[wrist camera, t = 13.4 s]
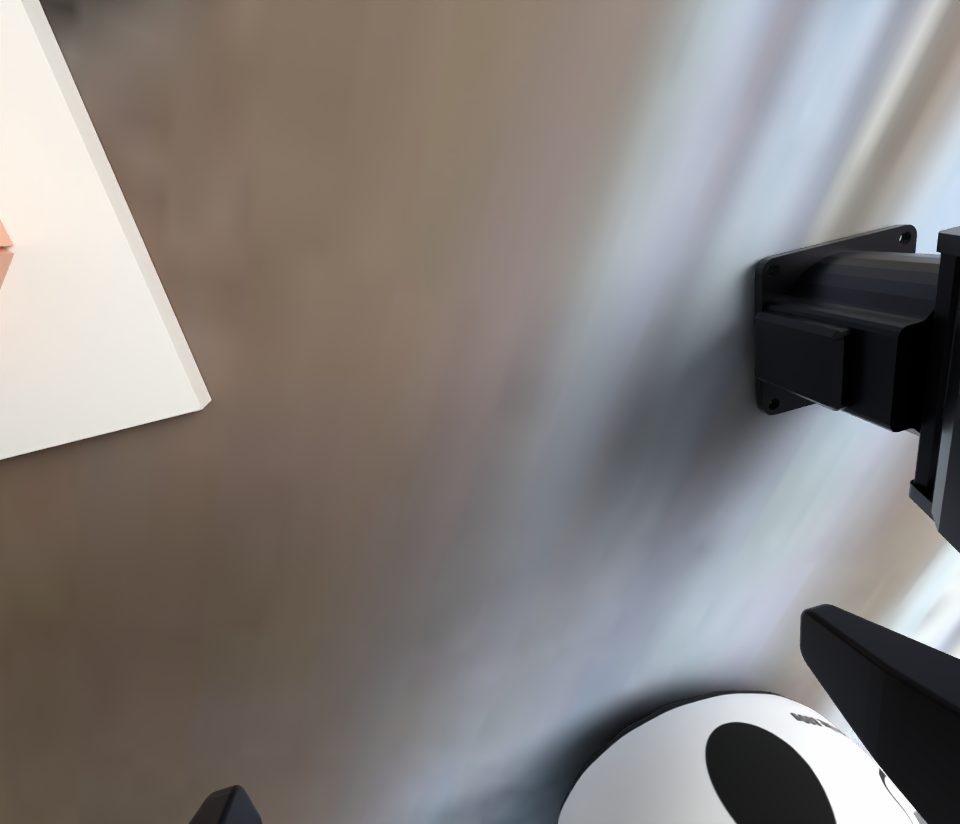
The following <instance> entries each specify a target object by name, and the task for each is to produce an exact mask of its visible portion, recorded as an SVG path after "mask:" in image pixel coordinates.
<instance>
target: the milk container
mask: <svg viewBox="0 0 960 824" xmlns="http://www.w3.org/2000/svg"><path fill="white" fill-rule="evenodd" d="M558 824H919V822H918V821H917V819H916V818H915V816H914V814H913V813H912V811H911V810H910V808H909V806H908V805H907V803H906V802H905V800H904V799H903V797H902V796H901V794H900V793H899V792H898V790H897V789H896V788H895V786H894V785H893V784H892V783H891V781H890V780H889V779H888V777H887V776H886V775H885V774H884V773H883V772H882V771H881V770H880V768H879V767H878V766H877V765H876V764H875V763H874V762H873V761H872V760H871V759H870V758H869V757H868V755H867V754H865V753H864V752H863V751H862V750H861V749H860V748H859V747H858V746H857V745H856V744H855V743H854V742H853V741H851V740H850V739H849V738H848V737H847V736H846V735H844V734H843V733H842V732H841V731H840V730H838V729H837V728H836V727H835V726H834V725H833V724H831V723H830V722H829V721H827V720H826V719H825V718H824V717H822V716H821V715H820V714H819V713H817V712H815V711H814V710H812V709H810V708H808V707H806V706H804V705H802V704H800V703H798V702H795V701H793V700H790V699H788V698H785V697H783V696H781V695H778V694H774V693H771V692H763V691H720V692H711V693H708V694H704V695H701V696H698V697H695V698H692V699H687V700H682V701H678V702H674V703H670V704H667V705H665V706H663V707H662V708H660V709H658V710H656V711H655V712H653V713H651V714H650V715H648V716H647V717H645V718H643V719H641V720H639V721H637V722H634V723H633V724H631V725H629V726H627V727H625V728H623V729H622V730H621V731H620V732H619V733H618V734H617V735H616V736H615V737H614V738H613V739H612V740H611V741H610V742H609V743H608V744H607V745H606V746H605V747H604V748H603V749H601V750H600V751H599V752H598V753H597V754H596V755H594V756H593V757H592V758H591V759H590V760H589V761H588V762H587V764H586V765H585V766H584V768H583V769H582V771H581V772H580V773H579V775H578V776H577V778H576V779H575V781H574V783H573V785H572V786H571V788H570V790H569V792H568V793H567V795H566V797H565V799H564V801H563V804H562V806H561V809H560V814H559V819H558Z"/></svg>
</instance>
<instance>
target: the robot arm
mask: <svg viewBox="0 0 960 824" xmlns="http://www.w3.org/2000/svg"><path fill="white" fill-rule="evenodd" d="M901 235H902V238H901V240H900V242H899V239H900V236H901ZM916 239H917V231H916V229H915V227H914V226H912V225H894V226H890V227H886V228H882V229H878V230H874V231H870V232H866V233H862V234H858V235H854V236H850V237H846V238H842V239H838V240H834V241H830V242H826V243H821V244H817V245H813V246H809V247H805V248H801V249H797V250H793V251H789V252H785V253H781V254H777V255H773V256H769V257H766V258H764V259H762V260H761V261H760V262H759V263H758V265H757V267H756V270H755V311H756V317H755V320H754V323H755V375H756V391H757V408H758V409H759V410H760V411H762V412H764V413H766V414H768V415H775V414H779V413H782V412H786V411H790V410H793V409H797V408H801V407H804V406H808V405H812V404H815V403H817V404H819V405H822V406H824V407H826V408H829V409H831V410H834V411H838V410H841V411H843V412H846V413H848V414H851V415H853V416H856V417H858V418H860V419H863V420H865V421H868V422H870V423H873V424H875V425H877V426H880V427H882V428H885V429H887V430H890V431H892V432H900V431H903V430H905V431H908V432H910V433H913V434H915V435H918V436H919V444H918V453H917V461H916V470H915V479H914V480H912V481H911V482H910V489H909V497H910V498H911V499H912V500H913V501H914V502H915V503H916V504H917V505H918V506H919V507H920V508H921V509H922V510H923V511H924V512H925V513H926V514H927V515H928V516H929V517H930V518H931V519H932V520H933V521H934V522H935V524H936V527H937V529H938V532H939V533H940V534H941V535H942V536H943V537H944V538H945V539H946V540H947V541H948V542H949V543H950V544H951V545H952V546H953V547H954V548H955V549H956V550H957V551H958V552H959V553H960V226H959V227H955V228H951V229H947V230H943V231H939V234H938V243H937V252H940V253H941V255H935V254H916V253H915V249H916ZM770 266H773V272H772V273H771V275H770V276H769V275H768V270H769V268H770ZM772 399H773V402H772V404H771V405H769V402H770V401H771V400H772ZM768 405H769V406H768ZM800 649H801V653H802V656H803V658H804V660H805V662H806V664H807V665H808V667H809V668H810V669H811V671H812V672H813V674H814V675H815V676H816V678H817V679H818V681H819V682H820V684H821V685H822V686H823V688H824V689H825V691H826V692H827V694H828V695H829V696H830V698H831V699H832V701H833V702H834V703H835V705H836V706H837V708H838V709H839V711H840V712H841V713H842V715H843V716H844V718H845V719H846V721H847V722H848V723H849V725H850V726H851V728H852V729H853V730H854V732H855V733H856V735H857V736H858V738H859V739H860V740H861V742H862V743H863V745H864V746H865V747H866V749H867V750H868V751H869V753H870V754H871V755H872V757H873V758H874V759H875V761H876V762H877V763H878V764H879V766H880V767H881V768H882V769H883V771H884V772H885V773H886V774H887V776H888V777H889V778H890V779H891V780H892V782H893V783H894V784H895V785H896V786H897V788H898V789H899V790H900V791H901V792H902V794H903V795H904V796H905V797H906V798H907V800H908V801H909V802H910V803H911V804H912V806H913V807H914V808H915V809H916V810H917V812H918V813H919V814H920V815H921V816H922V818H923V819H924V820H925V821H926V822H927V824H960V659H958V658H955V657H953V656H951V655H948V654H946V653H944V652H941V651H939V650H937V649H934V648H932V647H930V646H927V645H925V644H923V643H920V642H918V641H916V640H913V639H911V638H908V637H906V636H904V635H901V634H899V633H897V632H894V631H892V630H890V629H887V628H885V627H883V626H880V625H878V624H876V623H873V622H871V621H869V620H866V619H864V618H861V617H859V616H857V615H854V614H852V613H850V612H847V611H845V610H843V609H840V608H838V607H836V606H833V605H829V604H822V605H818V606H815V607H812V608H809V609H806V610H804V611H803V612H802V614H801V624H800ZM189 824H262V820H261V817H260V815H259V813H258V812H257V810H256V808H255V807H254V805H253V803H252V801H251V800H250V798H249V796H248V795H247V793H246V791H245V789H244V788H243V787H241V786H239V785H234V786H231V787H228V788H225V789H221V790H218V791H216V792H213V793H212V794H211V795H210V796H209V797H208V798H207V799H206V800H205V801H204V803H203V804H202V805H201V807H200V808H199V810H198V811H197V813H196V814H195V815H194V817H193V818H192V820H191V821H190V823H189Z"/></svg>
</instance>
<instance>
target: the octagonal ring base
mask: <svg viewBox="0 0 960 824" xmlns="http://www.w3.org/2000/svg"><path fill="white" fill-rule="evenodd" d="M210 401H211V398H210V395H209V393H208V391H207V388H206V386H205V384H204V381H203V379H202V377H201V374H200V372H199V370H198V367H197V365H196V363H195V361H194V358H193V356H192V354H191V351H190V349H189V347H188V344H187V342H186V340H185V337H184V335H183V333H182V330H181V328H180V326H179V324H178V321H177V319H176V317H175V314H174V312H173V310H172V307H171V305H170V303H169V300H168V298H167V296H166V293H165V291H164V289H163V287H162V284H161V282H160V280H159V277H158V275H157V273H156V270H155V268H154V266H153V263H152V261H151V259H150V256H149V254H148V252H147V250H146V247H145V245H144V243H143V240H142V238H141V236H140V233H139V231H138V229H137V226H136V224H135V222H134V219H133V217H132V215H131V212H130V210H129V208H128V206H127V203H126V201H125V199H124V196H123V194H122V192H121V189H120V187H119V185H118V182H117V180H116V178H115V175H114V173H113V171H112V169H111V166H110V164H109V162H108V159H107V157H106V155H105V152H104V150H103V148H102V145H101V143H100V141H99V138H98V136H97V134H96V132H95V129H94V127H93V125H92V122H91V120H90V118H89V115H88V113H87V111H86V108H85V106H84V104H83V101H82V99H81V97H80V95H79V92H78V90H77V88H76V85H75V83H74V81H73V78H72V76H71V74H70V71H69V69H68V67H67V64H66V62H65V60H64V58H63V55H62V53H61V51H60V48H59V46H58V44H57V41H56V39H55V37H54V34H53V32H52V30H51V27H50V25H49V23H48V21H47V18H46V16H45V14H44V11H43V9H42V7H41V4H40V2H39V0H0V460H1V459H5V458H9V457H13V456H17V455H21V454H25V453H29V452H33V451H37V450H41V449H45V448H49V447H53V446H57V445H61V444H65V443H69V442H73V441H77V440H81V439H85V438H89V437H93V436H97V435H101V434H105V433H109V432H113V431H117V430H121V429H125V428H129V427H133V426H137V425H141V424H145V423H149V422H153V421H157V420H161V419H165V418H169V417H173V416H177V415H181V414H186V413H190V412H194V411H198V410H202V409H203V408H204V407H205V406H206V405H207V404H208V403H209V402H210Z"/></svg>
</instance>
